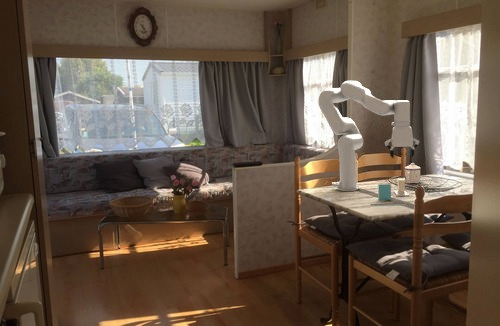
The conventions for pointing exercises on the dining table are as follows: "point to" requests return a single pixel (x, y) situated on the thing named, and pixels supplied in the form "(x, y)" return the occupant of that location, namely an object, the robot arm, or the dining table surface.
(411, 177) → the teacup with lid
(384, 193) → the tile
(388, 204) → the mat
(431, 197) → the dining table surface
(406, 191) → the tool rest
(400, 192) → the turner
